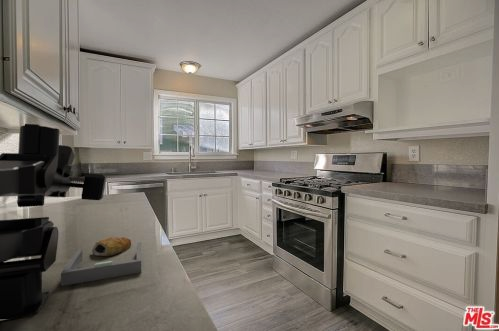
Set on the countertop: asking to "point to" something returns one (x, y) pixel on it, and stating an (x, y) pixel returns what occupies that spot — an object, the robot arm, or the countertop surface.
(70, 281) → the dock
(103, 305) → the countertop surface
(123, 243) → the pastry
